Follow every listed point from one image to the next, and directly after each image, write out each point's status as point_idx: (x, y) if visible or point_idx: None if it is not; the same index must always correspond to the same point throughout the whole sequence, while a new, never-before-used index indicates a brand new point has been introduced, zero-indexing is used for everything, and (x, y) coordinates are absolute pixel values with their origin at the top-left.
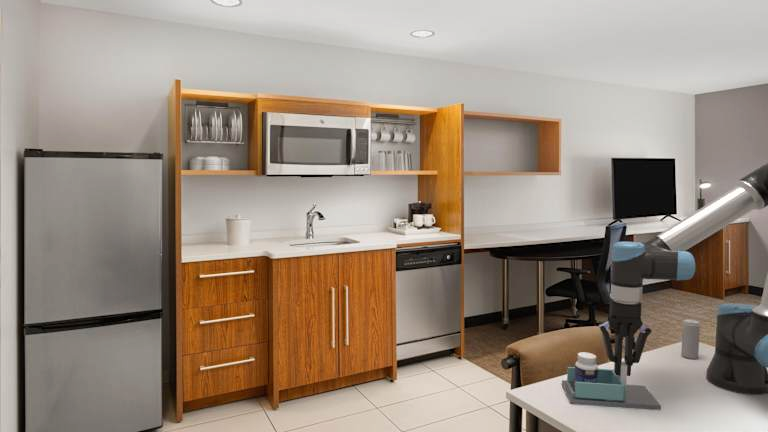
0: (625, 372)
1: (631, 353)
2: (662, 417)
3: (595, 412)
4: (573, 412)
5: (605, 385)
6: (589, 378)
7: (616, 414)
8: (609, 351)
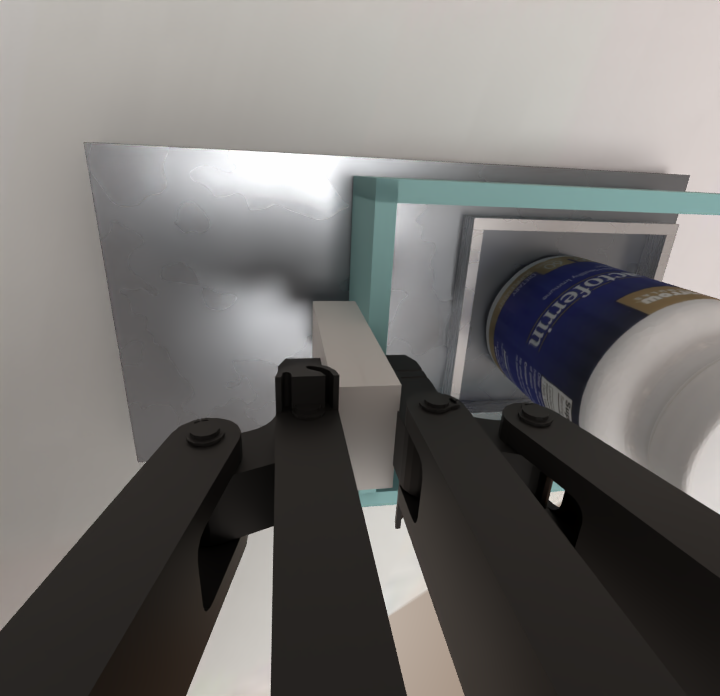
0: (340, 351)
1: (291, 507)
2: (113, 3)
3: (574, 51)
4: (709, 36)
5: (542, 187)
6: (638, 278)
7: (447, 29)
8: (652, 486)
